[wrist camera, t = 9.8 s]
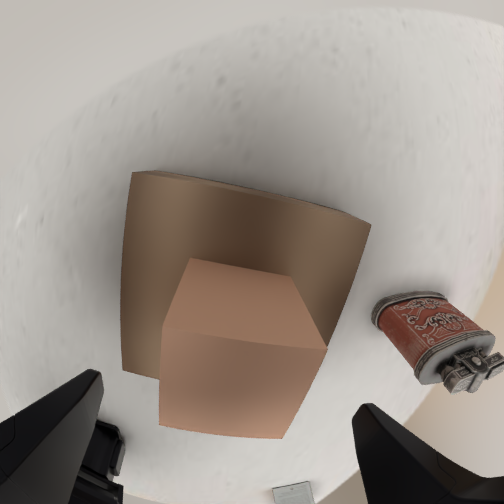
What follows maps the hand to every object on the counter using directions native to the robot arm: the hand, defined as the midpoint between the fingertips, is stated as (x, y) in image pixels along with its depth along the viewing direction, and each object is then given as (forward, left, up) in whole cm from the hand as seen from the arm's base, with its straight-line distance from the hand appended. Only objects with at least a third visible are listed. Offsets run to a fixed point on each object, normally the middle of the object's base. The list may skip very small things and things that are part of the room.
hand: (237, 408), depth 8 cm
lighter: (+15, 0, -11) cm, 19 cm away
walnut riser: (0, 0, -11) cm, 11 cm away
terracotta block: (0, 0, -7) cm, 7 cm away
